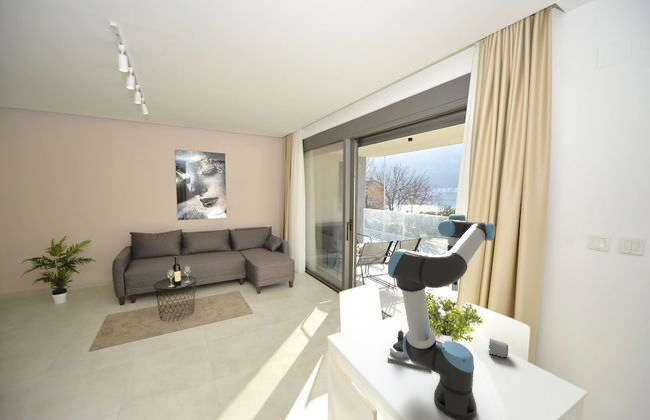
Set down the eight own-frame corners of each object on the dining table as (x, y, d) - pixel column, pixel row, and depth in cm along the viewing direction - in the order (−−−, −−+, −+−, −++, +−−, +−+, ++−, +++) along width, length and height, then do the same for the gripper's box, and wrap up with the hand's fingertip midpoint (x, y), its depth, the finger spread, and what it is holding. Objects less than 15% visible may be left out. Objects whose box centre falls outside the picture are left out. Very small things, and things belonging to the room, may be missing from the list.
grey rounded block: (508, 361, 133) (509, 346, 133) (488, 356, 137) (489, 342, 137) (506, 351, 142) (507, 337, 142) (488, 346, 146) (489, 333, 146)
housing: (430, 371, 125) (431, 363, 124) (387, 360, 132) (388, 353, 132) (431, 354, 138) (431, 346, 138) (392, 344, 146) (392, 337, 146)
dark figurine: (392, 350, 139) (392, 328, 138) (400, 347, 141) (401, 325, 140) (399, 356, 133) (400, 333, 132) (408, 353, 136) (409, 331, 135)
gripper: (466, 250, 121) (464, 296, 122) (462, 241, 144) (460, 279, 145) (448, 249, 123) (446, 293, 125) (446, 240, 146) (444, 277, 148)
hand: (453, 286), depth 135 cm, fingers open, 13 cm apart
